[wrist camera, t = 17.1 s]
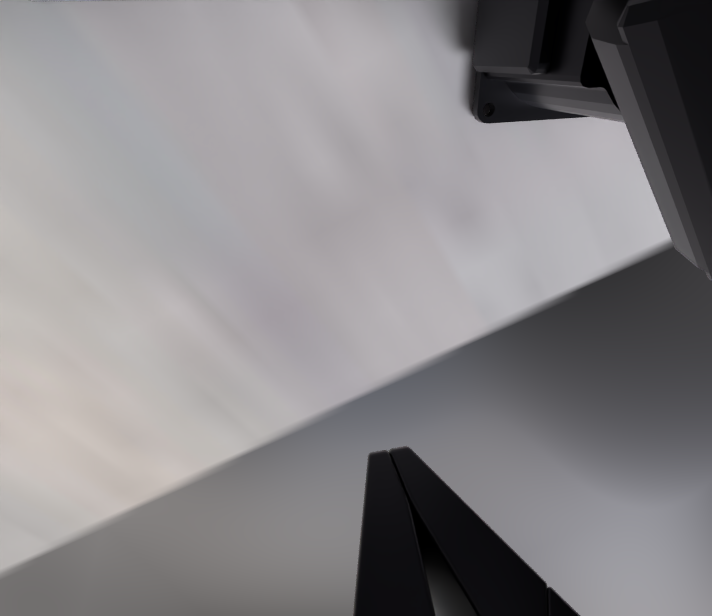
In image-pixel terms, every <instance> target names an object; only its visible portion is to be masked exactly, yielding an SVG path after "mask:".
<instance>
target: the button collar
mask: <svg viewBox="0 0 712 616" xmlns="http://www.w3.org/2000/svg"><path fill="white" fill-rule="evenodd" d="M30 1H100V0H30Z"/></svg>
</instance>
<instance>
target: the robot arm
mask: <svg viewBox="0 0 712 616" xmlns="http://www.w3.org/2000/svg"><path fill="white" fill-rule="evenodd" d="M473 66H474V68H475V69H476V71H477V72H476V82H475V92H474V102H473V115H474V117H475V119H476V120H477V121H479V122H483V123H501V122H516V121H532V120H547V119H562V118H578V117H595V118H601V119H607V120H613V121H619V122H625V124H626V126H627V129H628V131H629V134H630V136H631V139H632V142H633V144H634V147H635V149H636V152H637V154H638V157H639V159H640V162H641V164H642V167H643V169H644V172H645V174H646V177H647V179H648V182H649V184H650V187H651V189H652V192H653V194H654V197H655V199H656V202H657V204H658V207H659V209H660V212H661V214H662V217H663V219H664V222H665V224H666V227H667V229H668V232H669V234H670V237H671V239H672V242H673V244H674V247H675V249H676V250H678V251H679V252H680V253H681V254H682V255H684V256H685V257H686V258H687V259H689V261H691V262H692V263H693V264H694V265H695V266H697V267H698V268H700V269H702V270H703V271H706V274H707V277H708V279H710V280H711V281H712V0H479V1H478V12H477V22H476V33H475V44H474V54H473ZM487 103H489V104H490V111H489V113H488V114H487V115H484V114H483V108H484V106H485V105H486V104H487ZM353 616H580V615H579V614H578V613H577V612H576V611H575V610H574V609H572V607H571V606H570V605H569V604H568V603H567V602H566V601H564V600H563V598H561V596H559V594H558V593H556V592H555V590H553V588H551V587H548V588H547V583H546V582H545V581H544V580H543V579H542V578H541V577H540V576H539V575H538V574H537V573H536V572H535V571H534V570H533V569H532V568H531V567H530V566H529V565H528V564H527V563H526V562H525V561H524V560H523V559H522V558H521V557H520V556H519V555H518V554H517V553H516V552H515V551H514V550H513V549H512V548H511V547H510V546H509V545H508V544H507V543H506V542H505V541H504V540H503V539H502V538H501V537H500V536H499V535H497V533H495V531H494V530H492V529H491V528H490V526H488V525H487V524H486V523H485V522H484V521H483V520H482V519H481V518H480V517H479V516H478V515H477V514H476V513H475V512H474V511H473V510H472V509H471V508H470V507H469V506H468V505H467V504H466V503H465V502H464V501H463V500H462V499H461V498H460V497H459V496H458V495H457V494H456V493H455V492H454V491H453V490H452V489H451V488H450V487H449V486H448V485H447V484H446V483H445V482H444V481H443V480H442V479H441V478H440V477H439V476H438V475H437V474H436V473H435V472H434V471H433V470H432V469H431V468H430V467H429V466H428V465H426V463H425V462H424V461H423V460H422V459H420V457H419V456H418V455H416V453H414V452H413V451H412V449H410V448H409V447H407V446H403V447H398V448H392V449H390V450H389V452H388V451H386V450H382V451H376V452H372V453H370V454H369V455H368V463H367V473H366V483H365V494H364V505H363V516H362V525H361V536H360V546H359V557H358V568H357V579H356V589H355V599H354V610H353Z"/></svg>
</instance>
